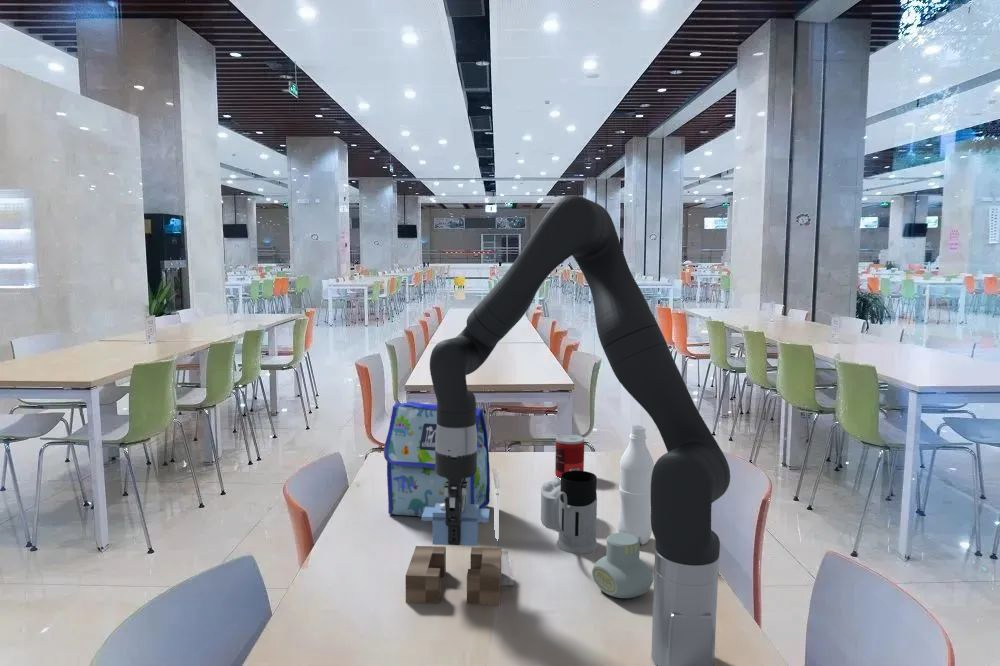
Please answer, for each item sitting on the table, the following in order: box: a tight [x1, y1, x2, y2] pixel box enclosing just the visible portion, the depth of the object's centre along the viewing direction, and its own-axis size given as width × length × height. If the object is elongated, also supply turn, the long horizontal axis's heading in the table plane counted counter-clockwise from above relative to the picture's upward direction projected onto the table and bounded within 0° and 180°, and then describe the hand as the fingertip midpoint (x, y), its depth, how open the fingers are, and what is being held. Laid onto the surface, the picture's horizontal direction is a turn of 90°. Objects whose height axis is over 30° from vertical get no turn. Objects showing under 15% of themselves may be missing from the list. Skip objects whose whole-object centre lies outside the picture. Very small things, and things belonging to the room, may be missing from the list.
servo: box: [421, 503, 491, 547], centre depth 123 cm, size 4×12×7 cm, turn 88°
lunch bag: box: [383, 401, 491, 518], centre depth 159 cm, size 22×17×26 cm
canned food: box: [554, 434, 585, 478], centre depth 185 cm, size 8×8×11 cm
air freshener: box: [591, 532, 654, 599], centre depth 123 cm, size 11×8×10 cm
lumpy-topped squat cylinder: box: [540, 477, 561, 530], centre depth 156 cm, size 10×13×9 cm
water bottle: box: [617, 424, 655, 545], centre depth 143 cm, size 7×7×25 cm
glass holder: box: [554, 470, 599, 555], centre depth 139 cm, size 9×14×15 cm, turn 146°
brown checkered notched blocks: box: [405, 545, 503, 606], centre depth 124 cm, size 12×16×5 cm
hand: (455, 537), depth 123 cm, fingers closed on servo, 4 cm apart
